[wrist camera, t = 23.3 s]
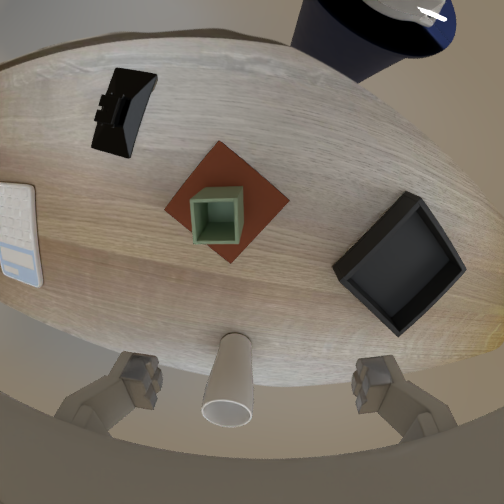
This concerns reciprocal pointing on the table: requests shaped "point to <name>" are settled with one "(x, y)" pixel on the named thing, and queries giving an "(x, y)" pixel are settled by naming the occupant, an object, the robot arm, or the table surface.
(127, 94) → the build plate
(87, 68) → the table surface
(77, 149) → the table surface
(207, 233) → the box
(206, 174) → the mat
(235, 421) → the drinking glass
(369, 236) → the bin
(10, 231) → the calculator
